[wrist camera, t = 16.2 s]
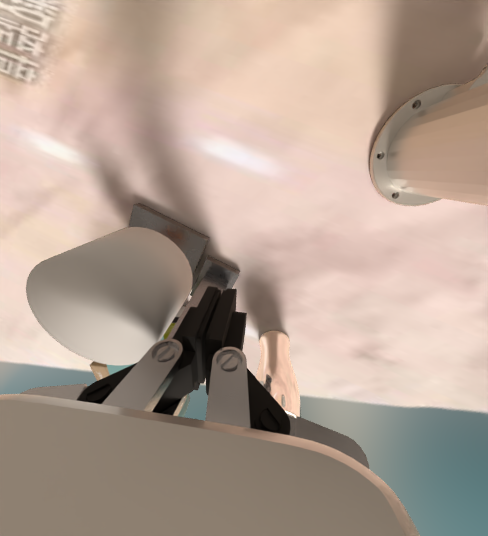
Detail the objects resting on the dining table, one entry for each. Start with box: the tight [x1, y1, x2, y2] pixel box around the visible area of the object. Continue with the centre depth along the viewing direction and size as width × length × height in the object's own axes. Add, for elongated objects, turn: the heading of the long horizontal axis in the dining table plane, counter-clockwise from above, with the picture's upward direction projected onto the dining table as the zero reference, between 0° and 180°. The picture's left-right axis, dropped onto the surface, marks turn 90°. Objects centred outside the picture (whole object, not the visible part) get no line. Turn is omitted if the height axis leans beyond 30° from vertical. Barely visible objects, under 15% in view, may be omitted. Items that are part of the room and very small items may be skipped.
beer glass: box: [256, 330, 301, 418], centre depth 35 cm, size 7×7×15 cm
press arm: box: [26, 227, 193, 417], centre depth 13 cm, size 18×6×7 cm, turn 175°
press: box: [129, 203, 240, 339], centre depth 27 cm, size 14×19×20 cm
